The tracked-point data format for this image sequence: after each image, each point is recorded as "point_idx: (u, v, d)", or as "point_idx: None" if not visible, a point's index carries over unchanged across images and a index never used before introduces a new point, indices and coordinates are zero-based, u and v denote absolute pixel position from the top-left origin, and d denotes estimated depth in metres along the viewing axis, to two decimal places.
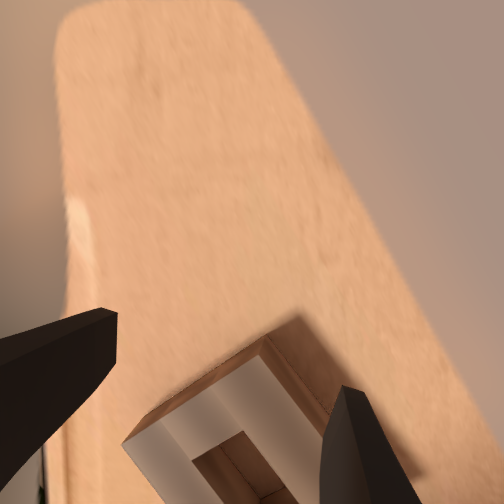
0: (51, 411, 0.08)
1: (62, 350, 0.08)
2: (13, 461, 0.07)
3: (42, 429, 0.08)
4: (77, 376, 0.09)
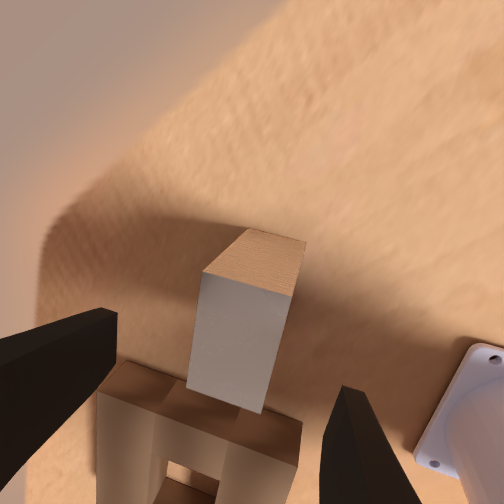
0: (51, 411, 0.08)
1: (62, 350, 0.08)
2: (12, 461, 0.07)
3: (42, 429, 0.08)
4: (77, 376, 0.09)
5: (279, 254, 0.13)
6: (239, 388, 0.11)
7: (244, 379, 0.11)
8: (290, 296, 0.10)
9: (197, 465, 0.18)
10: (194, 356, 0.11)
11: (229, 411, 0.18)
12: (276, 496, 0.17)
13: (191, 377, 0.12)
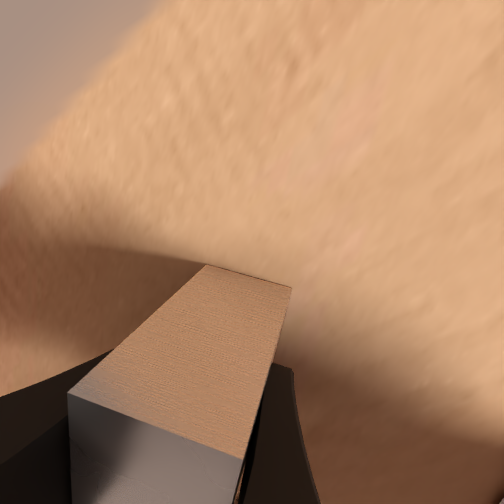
0: None
1: None
2: None
3: None
4: None
5: (242, 321, 0.08)
6: None
7: None
8: (240, 458, 0.04)
9: None
10: None
11: None
12: None
13: None
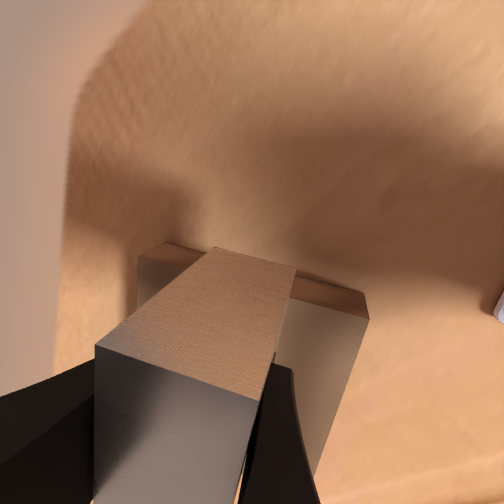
0: None
1: None
2: (87, 493, 0.07)
3: None
4: None
5: (251, 294, 0.08)
6: None
7: None
8: (256, 400, 0.05)
9: None
10: (100, 477, 0.07)
11: None
12: (341, 362, 0.15)
13: None
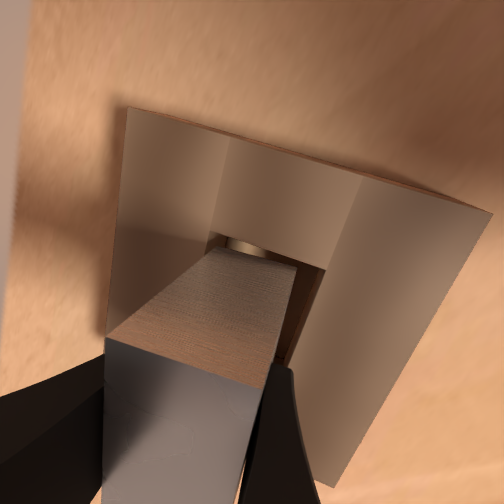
0: None
1: None
2: (87, 493, 0.07)
3: None
4: None
5: (253, 291, 0.08)
6: None
7: None
8: (259, 389, 0.05)
9: (290, 242, 0.11)
10: (108, 466, 0.07)
11: (344, 167, 0.11)
12: (429, 287, 0.10)
13: (107, 496, 0.07)
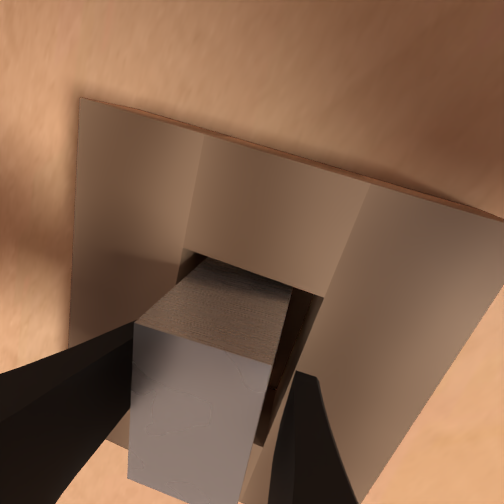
0: (95, 428, 0.08)
1: (107, 366, 0.07)
2: (60, 482, 0.07)
3: (86, 447, 0.08)
4: (118, 391, 0.08)
5: (260, 283, 0.09)
6: (201, 485, 0.08)
7: (207, 475, 0.07)
8: (270, 365, 0.06)
9: (280, 264, 0.09)
10: (135, 439, 0.08)
11: (345, 171, 0.09)
12: (452, 321, 0.08)
13: (133, 466, 0.08)
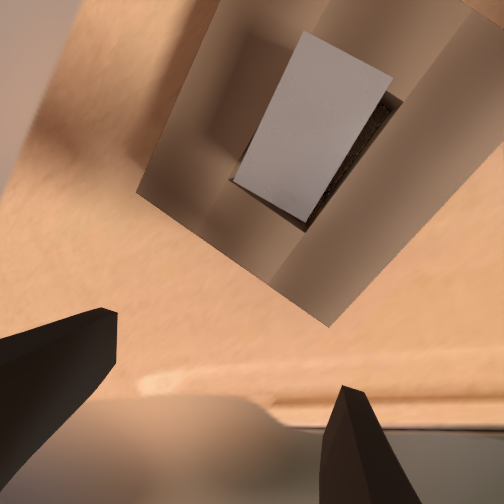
0: (51, 411, 0.08)
1: (62, 350, 0.08)
2: (13, 461, 0.07)
3: (42, 429, 0.08)
4: (77, 376, 0.09)
5: None
6: (293, 188, 0.11)
7: (302, 177, 0.10)
8: (392, 77, 0.09)
9: (380, 66, 0.12)
10: (256, 142, 0.10)
11: None
12: (487, 135, 0.11)
13: (243, 168, 0.11)
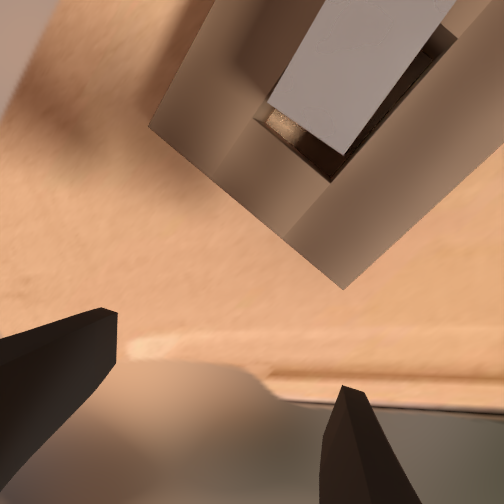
0: (51, 411, 0.08)
1: (62, 350, 0.08)
2: (12, 461, 0.07)
3: (42, 429, 0.08)
4: (77, 376, 0.09)
5: None
6: (334, 114, 0.10)
7: (347, 101, 0.09)
8: None
9: None
10: (299, 56, 0.09)
11: None
12: None
13: (281, 87, 0.10)
